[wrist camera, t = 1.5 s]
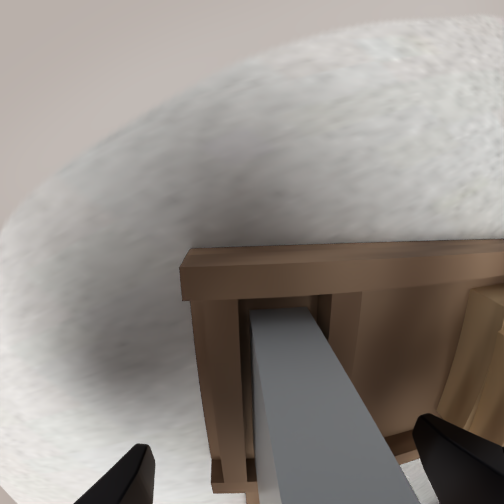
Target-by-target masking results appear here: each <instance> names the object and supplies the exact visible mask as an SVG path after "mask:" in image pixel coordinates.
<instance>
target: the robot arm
mask: <svg viewBox="0 0 504 504" xmlns="http://www.w3.org/2000/svg"><path fill="white" fill-rule="evenodd" d="M412 437H413V440H414V442H415V445H416V448H417V451H418V454H419V457H420V460H421V462H422V465H423V468H424V470H425V472H426V474H427V477H428V479H429V481H430V483H431V485H432V487H433V489H434V491H435V493H436V495H437V498H438V500H439V502H440V504H504V447H502V446H501V445H498V444H496V443H494V442H491V441H489V440H487V439H484V438H482V437H480V436H478V435H476V434H473V433H471V432H469V431H467V430H465V429H462V428H460V427H458V426H456V425H454V424H452V423H450V422H447V421H445V420H443V419H441V418H439V417H437V416H435V415H433V414H431V413H426V414H422V415H420V416H419V417H418V418H417V421H416V423H415V426H414V428H413V431H412ZM154 476H155V459H154V457H153V454H152V451H151V448H150V446H149V445H147V444H135V445H134V446H133V447H132V448H131V449H130V450H129V451H128V452H127V453H126V454H125V455H124V456H123V457H122V458H121V459H120V460H119V461H118V462H117V463H116V464H115V465H114V466H113V467H112V468H111V469H110V470H109V471H108V472H107V473H106V474H105V475H104V476H102V477H101V478H100V479H99V480H98V481H97V482H96V483H95V484H94V485H93V486H92V487H91V488H90V489H89V490H88V491H87V492H86V493H84V494H83V495H82V496H81V497H80V498H79V499H78V500H77V501H76V502H75V503H74V504H153V491H154Z"/></svg>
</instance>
